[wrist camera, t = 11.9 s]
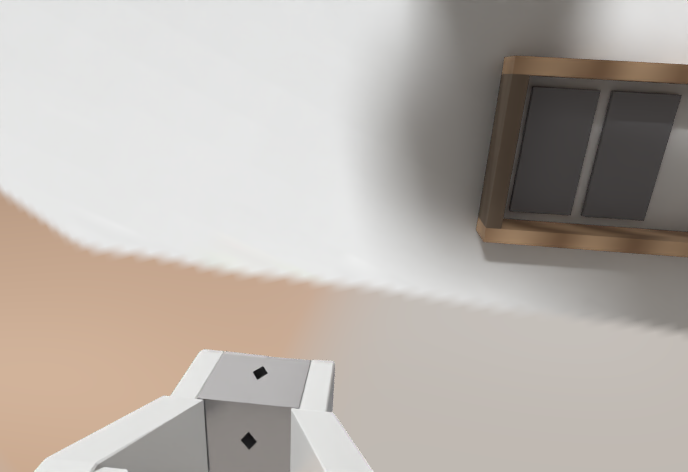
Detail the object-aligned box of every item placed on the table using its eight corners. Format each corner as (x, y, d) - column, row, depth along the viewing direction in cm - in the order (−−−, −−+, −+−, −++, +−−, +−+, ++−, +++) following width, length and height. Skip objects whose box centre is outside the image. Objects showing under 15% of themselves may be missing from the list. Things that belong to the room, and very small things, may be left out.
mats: (509, 210, 38) (510, 211, 37) (532, 86, 34) (533, 87, 34) (641, 219, 37) (643, 220, 37) (679, 95, 34) (681, 95, 33)
